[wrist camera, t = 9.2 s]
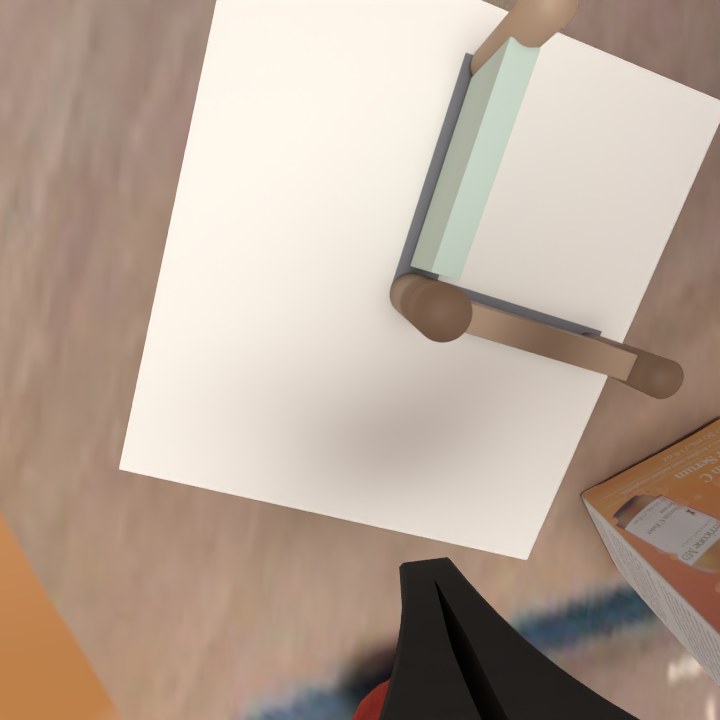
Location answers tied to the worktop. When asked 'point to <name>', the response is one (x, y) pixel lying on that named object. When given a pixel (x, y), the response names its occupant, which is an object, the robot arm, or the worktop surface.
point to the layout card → (396, 266)
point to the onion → (372, 703)
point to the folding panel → (485, 131)
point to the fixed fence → (528, 335)
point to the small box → (670, 538)
